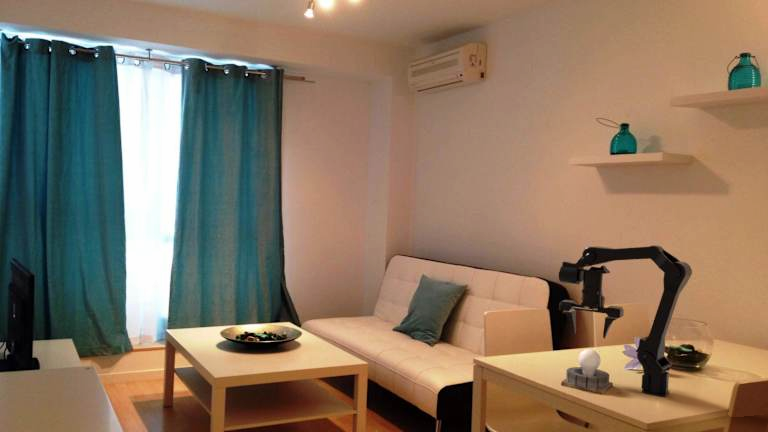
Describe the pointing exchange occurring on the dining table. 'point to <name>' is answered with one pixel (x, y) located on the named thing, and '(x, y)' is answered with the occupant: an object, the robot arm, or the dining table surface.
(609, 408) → the dining table surface
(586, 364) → the lightbulb
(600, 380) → the grey stone fire pit
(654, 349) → the robot arm
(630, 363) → the water lily
